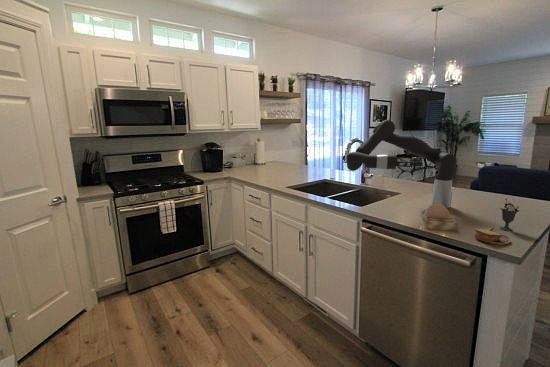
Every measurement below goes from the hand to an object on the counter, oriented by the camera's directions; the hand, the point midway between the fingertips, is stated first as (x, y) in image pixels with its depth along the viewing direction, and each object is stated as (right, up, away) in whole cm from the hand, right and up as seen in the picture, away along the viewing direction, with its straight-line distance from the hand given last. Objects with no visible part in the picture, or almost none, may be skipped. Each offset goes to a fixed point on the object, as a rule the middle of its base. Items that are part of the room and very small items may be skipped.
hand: (421, 162), depth 135 cm
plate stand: (+14, -29, +14) cm, 35 cm away
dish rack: (+11, -32, +3) cm, 34 cm away
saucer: (+10, -26, +3) cm, 28 cm away
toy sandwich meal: (+23, -36, -15) cm, 45 cm away
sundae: (+39, -33, -5) cm, 51 cm away
